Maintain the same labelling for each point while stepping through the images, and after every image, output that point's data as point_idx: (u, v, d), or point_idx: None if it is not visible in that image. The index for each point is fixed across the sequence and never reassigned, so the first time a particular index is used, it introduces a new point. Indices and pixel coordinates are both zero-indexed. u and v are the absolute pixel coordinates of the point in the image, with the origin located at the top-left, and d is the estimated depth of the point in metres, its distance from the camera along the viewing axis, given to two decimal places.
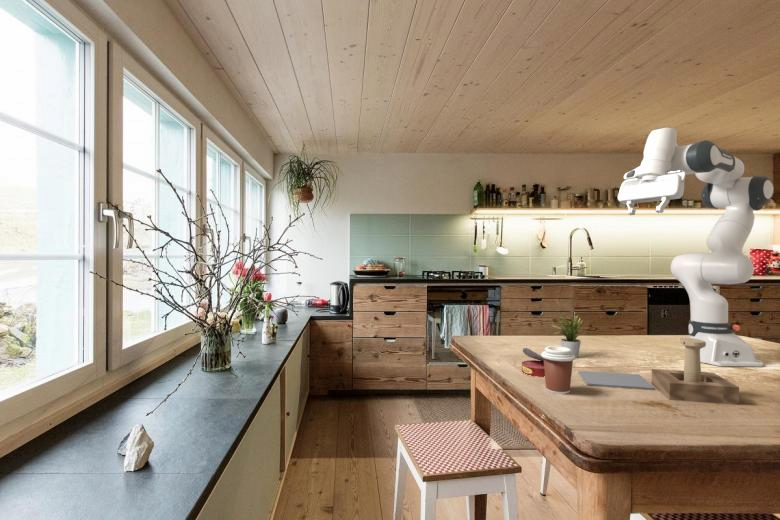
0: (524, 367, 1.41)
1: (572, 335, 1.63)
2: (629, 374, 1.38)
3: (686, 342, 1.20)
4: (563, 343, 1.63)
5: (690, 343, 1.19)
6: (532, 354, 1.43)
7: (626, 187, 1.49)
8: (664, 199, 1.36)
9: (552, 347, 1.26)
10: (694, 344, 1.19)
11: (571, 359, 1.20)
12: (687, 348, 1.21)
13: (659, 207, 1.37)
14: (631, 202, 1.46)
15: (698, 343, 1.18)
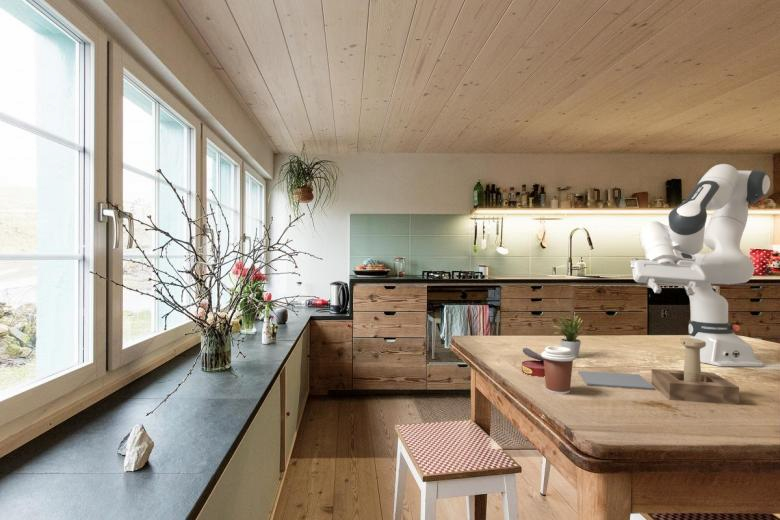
0: (524, 367, 1.41)
1: (572, 335, 1.63)
2: (629, 374, 1.38)
3: (686, 342, 1.20)
4: (563, 343, 1.63)
5: (690, 343, 1.19)
6: (532, 354, 1.43)
7: None
8: None
9: (552, 347, 1.26)
10: (694, 344, 1.19)
11: (571, 359, 1.20)
12: (687, 348, 1.21)
13: None
14: (688, 285, 1.36)
15: (698, 343, 1.18)
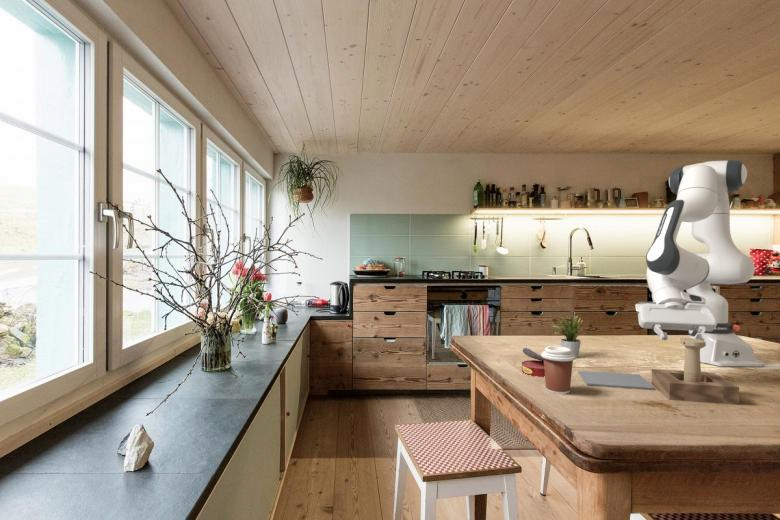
0: (524, 367, 1.41)
1: (572, 335, 1.63)
2: (629, 374, 1.38)
3: (686, 342, 1.20)
4: (563, 343, 1.63)
5: (690, 343, 1.19)
6: (532, 354, 1.43)
7: None
8: None
9: (552, 347, 1.26)
10: (694, 344, 1.19)
11: (571, 359, 1.20)
12: (687, 348, 1.21)
13: None
14: (697, 330, 1.29)
15: (698, 343, 1.18)
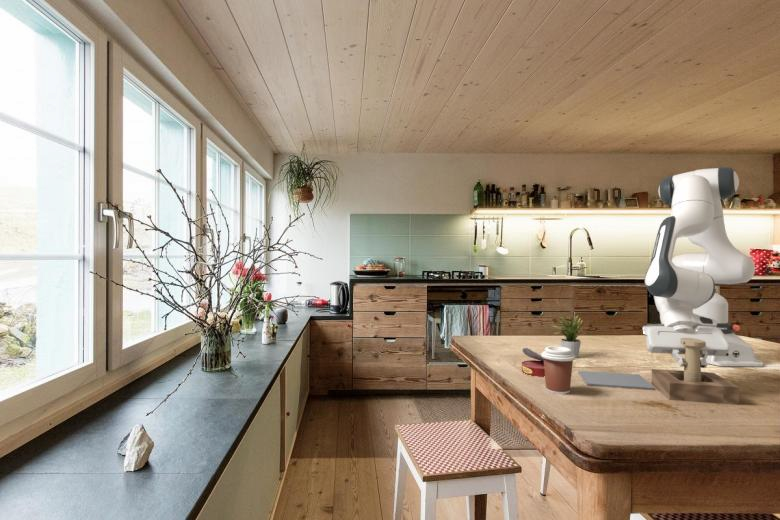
0: (524, 367, 1.41)
1: (572, 335, 1.63)
2: (629, 374, 1.38)
3: (686, 342, 1.20)
4: (563, 343, 1.63)
5: (690, 343, 1.19)
6: (532, 354, 1.43)
7: None
8: None
9: (552, 347, 1.26)
10: (694, 344, 1.19)
11: (571, 359, 1.20)
12: (687, 348, 1.21)
13: None
14: (700, 355, 1.23)
15: (698, 343, 1.18)
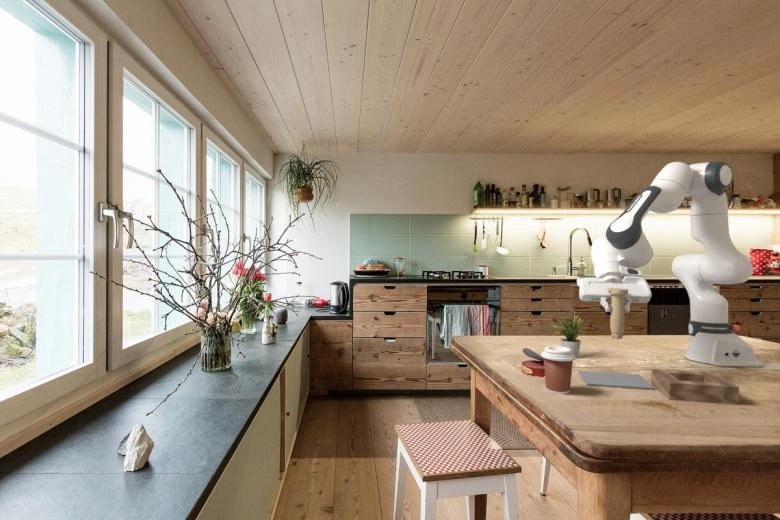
0: (524, 367, 1.41)
1: (572, 335, 1.63)
2: (629, 374, 1.38)
3: (611, 290, 1.32)
4: (563, 343, 1.63)
5: (614, 291, 1.31)
6: (532, 354, 1.43)
7: None
8: None
9: (552, 347, 1.26)
10: (617, 291, 1.30)
11: (571, 359, 1.20)
12: (612, 296, 1.32)
13: None
14: (625, 302, 1.34)
15: (621, 290, 1.29)
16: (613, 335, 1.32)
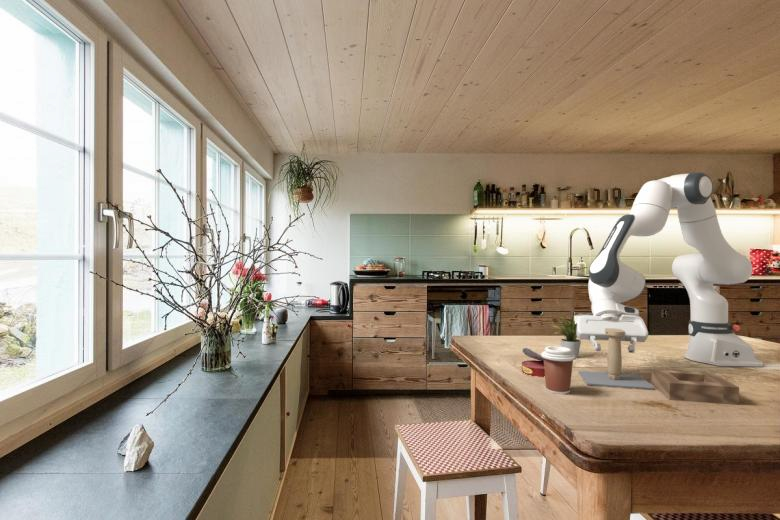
0: (524, 367, 1.41)
1: (572, 335, 1.63)
2: (629, 374, 1.38)
3: (608, 332, 1.32)
4: (563, 343, 1.63)
5: (611, 333, 1.31)
6: (532, 354, 1.43)
7: None
8: None
9: (552, 347, 1.26)
10: (614, 333, 1.31)
11: (571, 359, 1.20)
12: (609, 337, 1.33)
13: None
14: (630, 341, 1.35)
15: (618, 332, 1.30)
16: (610, 376, 1.33)
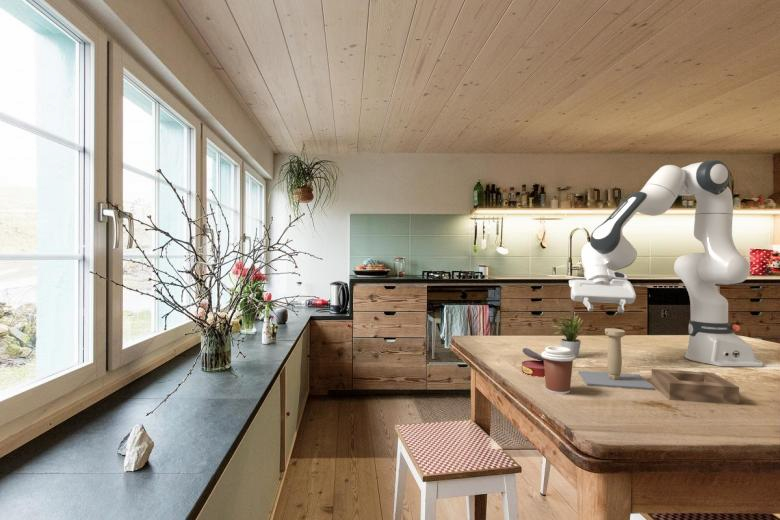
0: (524, 367, 1.41)
1: (572, 335, 1.63)
2: (629, 374, 1.38)
3: (608, 332, 1.32)
4: (563, 343, 1.63)
5: (611, 333, 1.31)
6: (532, 354, 1.43)
7: None
8: None
9: (552, 347, 1.26)
10: (614, 333, 1.31)
11: (571, 359, 1.20)
12: (609, 337, 1.33)
13: None
14: (619, 303, 1.47)
15: (618, 332, 1.30)
16: (610, 376, 1.33)
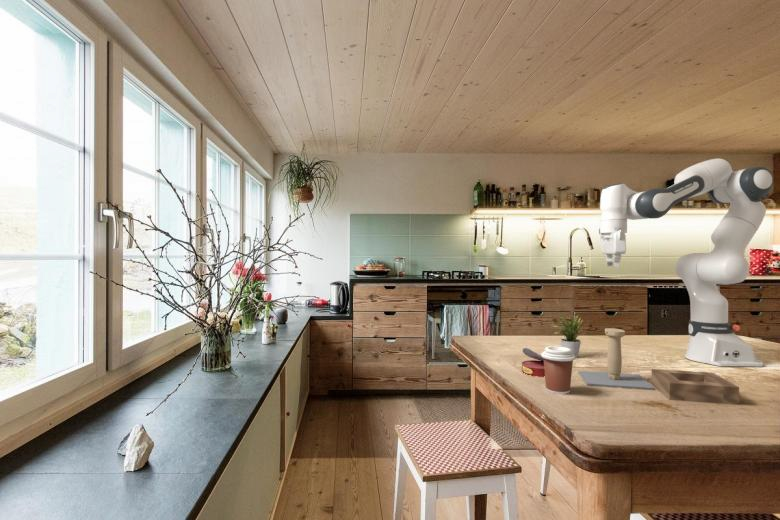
0: (524, 367, 1.41)
1: (572, 335, 1.63)
2: (629, 374, 1.38)
3: (608, 332, 1.32)
4: (563, 343, 1.63)
5: (611, 333, 1.31)
6: (532, 354, 1.43)
7: (602, 241, 1.66)
8: (614, 256, 1.53)
9: (552, 347, 1.26)
10: (614, 333, 1.31)
11: (571, 359, 1.20)
12: (609, 337, 1.33)
13: (613, 263, 1.54)
14: (608, 255, 1.64)
15: (618, 332, 1.30)
16: (610, 376, 1.33)
